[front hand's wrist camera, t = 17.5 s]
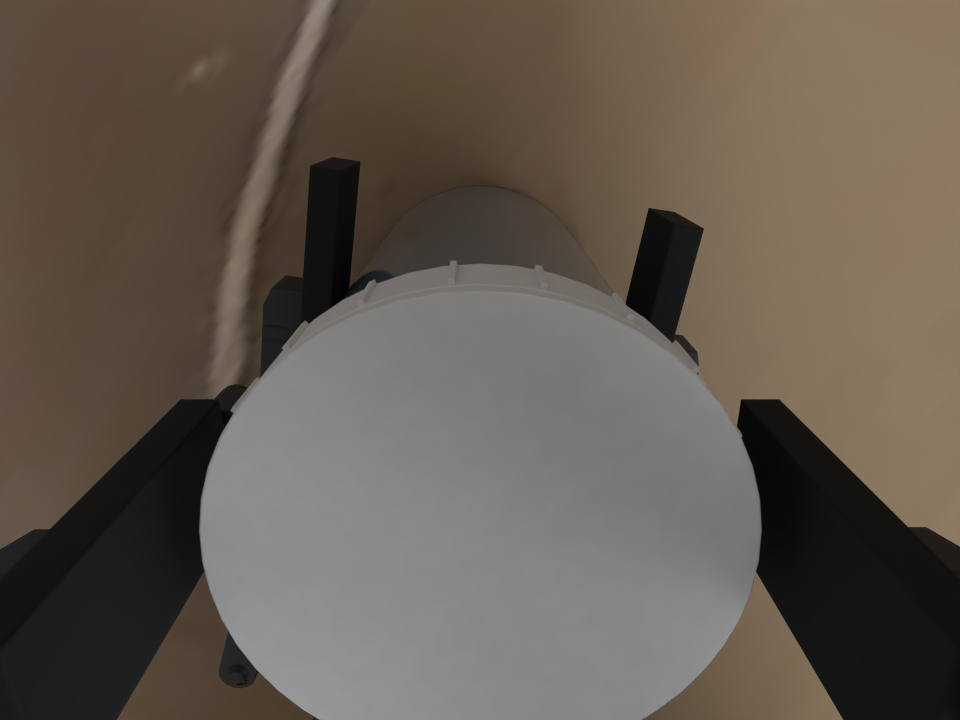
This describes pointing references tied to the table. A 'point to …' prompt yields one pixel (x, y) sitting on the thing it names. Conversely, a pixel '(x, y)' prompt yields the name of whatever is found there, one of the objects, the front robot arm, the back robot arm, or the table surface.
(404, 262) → the jar
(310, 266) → the back robot arm
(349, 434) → the lid
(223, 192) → the table surface
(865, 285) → the table surface
